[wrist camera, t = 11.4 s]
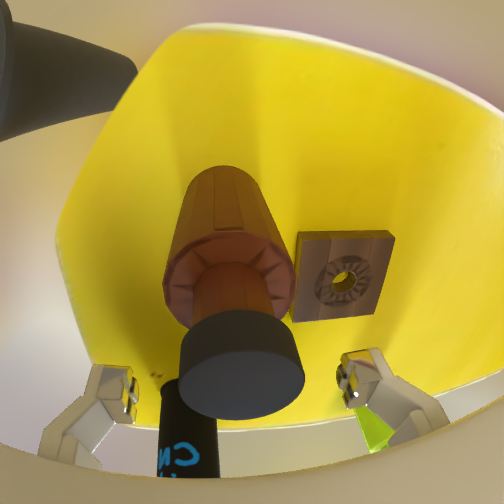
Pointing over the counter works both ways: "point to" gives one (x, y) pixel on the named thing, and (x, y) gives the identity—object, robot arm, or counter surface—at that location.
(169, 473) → the aerosol can
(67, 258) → the counter surface
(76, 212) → the counter surface
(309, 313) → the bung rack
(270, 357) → the cylinder
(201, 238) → the bottle
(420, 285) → the counter surface
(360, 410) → the soap dispenser
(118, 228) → the counter surface
